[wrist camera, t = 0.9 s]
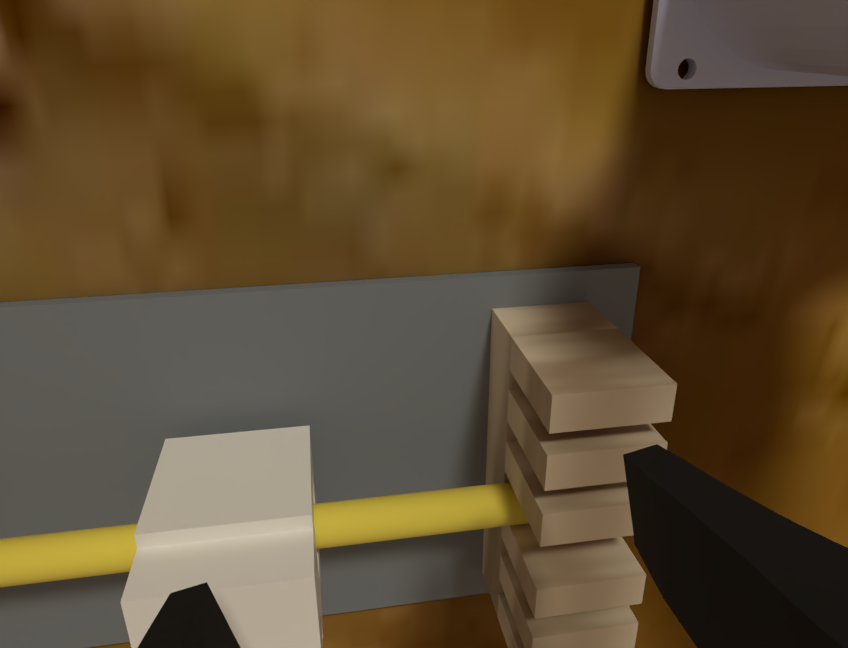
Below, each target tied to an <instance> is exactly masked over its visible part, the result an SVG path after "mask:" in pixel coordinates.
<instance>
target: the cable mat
mask: <svg viewBox="0 0 848 648" xmlns="http://www.w3.org/2000/svg"><path fill="white" fill-rule="evenodd" d="M639 275H640V266H638V265H637V264H635V263H624V264H608V265H592V266H576V267H560V268H544V269H528V270H512V271H496V272H480V273H464V274H448V275H432V276H416V277H400V278H384V279H368V280H352V281H336V282H320V283H303V284H287V285H271V286H255V287H239V288H223V289H207V290H191V291H175V292H159V293H143V294H127V295H111V296H95V297H79V298H63V299H47V300H31V301H15V302H0V539H2V538H11V537H20V536H29V535H38V534H47V533H56V532H65V531H74V530H83V529H92V528H101V527H110V526H119V525H128V524H137V523H138V521H139V518H140V515H141V512H142V509H143V506H144V503H145V500H146V497H147V494H148V491H149V488H150V484H151V481H152V478H153V475H154V472H155V469H156V466H157V463H158V460H159V457H160V454H161V451H162V448H163V445H164V442H165V439H170V438H180V437H191V436H202V435H212V434H223V433H234V432H244V431H255V430H266V429H276V428H287V427H298V426H308V425H310V437H311V448H312V460H313V472H314V483H315V495H316V504H317V503H326V502H335V501H344V500H353V499H362V498H371V497H380V496H389V495H398V494H407V493H416V492H425V491H434V490H442V489H451V488H460V487H469V486H478V485H486V458H487V431H488V404H489V376H490V349H491V322H492V309H495V308H509V307H523V306H537V305H552V304H566V303H580V302H590V303H591V304H592V305H593V306H594V307H595V308H597V309H598V310H599V311H600V312H601V313H602V314H603V315H604V316H605V317H606V318H607V319H608V320H609V321H610V322H612V323H613V324H614V325H615V326H616V327H617V328H618V329H619V330H620V331H621V332H622V333H623V334H624V335H625V336H627V337H628V338H629V339H630V340H631V337H632V329H633V321H634V314H635V306H636V298H637V290H638V282H639ZM483 540H484V529H478V530H470V531H462V532H454V533H445V534H437V535H429V536H421V537H412V538H404V539H396V540H388V541H379V542H371V543H363V544H355V545H346V546H338V547H330V548H322V549H320V575H321V600H322V616H323V615H330V614H338V613H345V612H352V611H360V610H367V609H374V608H382V607H389V606H396V605H404V604H411V603H418V602H426V601H433V600H441V599H448V598H455V597H463V596H470V595H477V594H485V593H489V591H488V588H487V585H486V582H485V579H484V576H483V573H482V567H483ZM129 573H130V572H124V573H116V574H107V575H99V576H91V577H83V578H74V579H66V580H58V581H50V582H41V583H33V584H25V585H17V586H8V587H0V648H88V647H95V646H103V645H110V644H117V643H125V642H130V639H129V635H128V631H127V627H126V623H125V619H124V615H123V611H122V607H121V603H120V602H121V598H122V595H123V592H124V589H125V586H126V582H127V579H128V576H129Z"/></svg>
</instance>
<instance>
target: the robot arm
mask: <svg viewBox="0 0 848 648" xmlns="http://www.w3.org/2000/svg"><path fill="white" fill-rule="evenodd" d="M684 59H686V60H687V62H688V65H689V69H688V72H687V74H686V75H685V76H684V77H683V78H680V76H679V75H678V67H679V64H680V63H681V62H682V61H683V60H684ZM645 71H646V78H647V80H648V82H649V84H651V85H652V86H653V87H655V88H660V89H711V88H758V87H805V86H848V0H653V8H652V17H651V25H650V34H649V42H648V51H647V60H646V68H645ZM623 458H624V466H625V473H626V481H627V488H628V496H629V503H630V511H631V518H632V526H633V533H634V541H635V545H636V547H637V549H638V551H639V553H640V555H641V557H642V559H643V561H644V563H645V565H646V567H647V568H648V570H649V572H650V574H651V576H652V578H653V580H654V581H655V583H656V585H657V587H658V589H659V591H660V592H661V594H662V596H663V598H664V599H665V601H666V602H667V604H668V605H669V607H670V608H671V610H672V611H673V613H674V614H675V616H676V617H677V619H678V620H679V622H680V623H681V624H682V626H683V627H684V629H685V630H686V632H687V633H688V635H689V636H690V638H691V639H692V640H693V642H694V643H695V645H696V646H697V648H848V548H846V547H844V546H842V545H840V544H838V543H835V542H833V541H831V540H829V539H827V538H825V537H823V536H821V535H819V534H817V533H815V532H813V531H811V530H809V529H807V528H805V527H803V526H800V525H798V524H796V523H794V522H793V521H791V520H789V519H787V518H785V517H783V516H781V515H779V514H777V513H775V512H774V511H772V510H770V509H768V508H766V507H765V506H763V505H761V504H759V503H757V502H755V501H754V500H752V499H750V498H748V497H746V496H744V495H743V494H741V493H739V492H737V491H736V490H734V489H732V488H730V487H729V486H727V485H725V484H724V483H722V482H720V481H718V480H717V479H715V478H713V477H712V476H710V475H708V474H707V473H705V472H703V471H702V470H700V469H698V468H696V467H695V466H693V465H691V464H690V463H688V462H686V461H685V460H683V459H681V458H680V457H678V456H676V455H675V454H673V453H671V452H670V451H668V450H666V449H664V448H663V447H661V446H659V445H658V444H656V445H653V446H649V447H646V448H643V449H640V450H636V451H633V452H630V453H627V454H623ZM138 648H240V646H239V644H238V642H237V640H236V638H235V636H234V634H233V632H232V630H231V628H230V626H229V624H228V622H227V621H226V619H225V617H224V615H223V613H222V611H221V609H220V607H219V605H218V603H217V601H216V599H215V597H214V595H213V593H212V591H211V589H210V587H209V585H208V583H207V582H206V583H202V584H199V585H196V586H192V587H189V588H186V589H183V590H179V591H176V592H173V593H170V595H169V596H168V598H167V600H166V601H165V603H164V604H163V606H162V608H161V609H160V611H159V613H158V614H157V616H156V618H155V619H154V621H153V623H152V624H151V626H150V628H149V629H148V631H147V633H146V634H145V636H144V638H143V639H142V641H141V643H140V644H139V646H138Z"/></svg>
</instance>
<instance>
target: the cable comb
mask: <svg viewBox="0 0 848 648" xmlns="http://www.w3.org/2000/svg"><path fill="white" fill-rule="evenodd" d="M676 390H677V383H676V382H675V381H674V380H673V379H672V378H671V377H669V376H668V375H667V374H666V373H665V372H664V371H663V370H662V369H661V368H660V367H659V366H658V365H657V364H656V363H654V362H653V361H652V360H651V359H650V358H649V357H648V356H647V355H646V354H645V353H644V352H643V351H642V350H640V349H639V348H638V347H637V346H636V345H635V344H634V343H633V342H632V341H631V340H630V339H629V338H628V337H627V336H625V335H624V334H623V333H622V332H621V331H620V330H619V329H618V328H617V327H616V326H615V325H614V324H613V323H612V322H610V321H609V320H608V319H607V318H606V317H605V316H604V315H603V314H602V313H601V312H600V311H599V310H598V309H597V308H595V307H594V306H593V305H592V304H591V303H590V302H580V303H566V304H552V305H537V306H523V307H509V308H495V309H492V322H491V349H490V376H489V404H488V431H487V458H486V485H487V484H496V483H505V482H510V484H511V486H512V488H513V490H514V492H515V494H516V496H517V499H518V501H519V503H520V505H521V507H522V509H523V511H524V513H525V516H526V518H527V520H528V522H529V523H528V524H520V525H511V526H503V527H495V528H487V529H484V540H483V567H482V573H483V576H484V579H485V582H486V585H487V588H488V591H489V594H490V597H491V599H492V602H493V605H494V608H495V611H496V614H497V617H498V620H499V623H500V626H501V629H502V632H503V635H504V638H505V641H506V644H507V647H508V648H635V642H636V636H637V630H638V621H637V619H636V617H635V616H634V614H633V612H632V611H631V609H630V607H629V605H636V604H642V599H643V593H644V587H645V580H646V574H645V572H644V571H643V569H642V567H641V566H640V564H639V563H638V561H637V560H636V558H635V556H634V555H633V553H632V552H631V550H630V549H629V547H628V545H627V544H626V542H625V541H624V539H623V538H622V537H624V536H632V535H634V533H633V526H632V518H631V511H630V503H629V496H628V488H627V481H626V473H625V466H624V458H623V454H627V453H630V452H633V451H636V450H640V449H643V448H646V447H649V446H653V445H656V444H658V445H659V446H661V447H663V448H664V449H666V450H667V445H668V443H667V442H666V440H665V439H664V438H663V437H662V436H661V435H660V434H659V433H658V431H657V430H656V429H655V428H654V427H653V426H652V425H651V423H661V422H670V421H671V420H672V414H673V408H674V402H675V396H676Z"/></svg>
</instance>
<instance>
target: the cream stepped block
mask: <svg viewBox="0 0 848 648" xmlns="http://www.w3.org/2000/svg"><path fill="white" fill-rule="evenodd" d="M314 504H316V495H315V483H314V472H313V460H312V448H311V437H310V425H308V426H298V427H287V428H276V429H266V430H255V431H244V432H234V433H223V434H212V435H202V436H191V437H180V438H170V439H165V442H164V445H163V448H162V451H161V454H160V457H159V460H158V463H157V466H156V469H155V472H154V475H153V478H152V481H151V484H150V488H149V491H148V494H147V497H146V500H145V503H144V506H143V509H142V512H141V515H140V518H139V521H138V524H137V527H136V530H135V533H134V537H135V542H136V546H137V550H136V554H135V557H134V560H133V563H132V566H131V570H130V573H129V576H128V579H127V582H126V586H125V589H124V592H123V595H122V598H121V602H120V603H121V607H122V611H123V615H124V619H125V623H126V627H127V631H128V635H129V639H130V643H131V647H132V648H138V646H139V644H140V643H141V641H142V639H143V638H144V636H145V634H146V633H147V631H148V629H149V628H150V626H151V624H152V623H153V621H154V619H155V618H156V616H157V614H158V613H159V611H160V609H161V608H162V606H163V604H164V603H165V601H166V600H167V598H168V596H169V595H170V593H173V592H176V591H179V590H183V589H186V588H189V587H192V586H196V585H199V584H202V583H206V582H207V583H208V585H209V587H210V589H211V591H212V593H213V595H214V597H215V599H216V601H217V603H218V605H219V607H220V609H221V611H222V613H223V615H224V617H225V619H226V621H227V622H228V624H229V626H230V628H231V630H232V632H233V634H234V636H235V638H236V640H237V642H238V644H239V646H240V648H323V640H322V639H323V625H322V600H321V575H320V549H317V548H316V537H315V526H314Z"/></svg>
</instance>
